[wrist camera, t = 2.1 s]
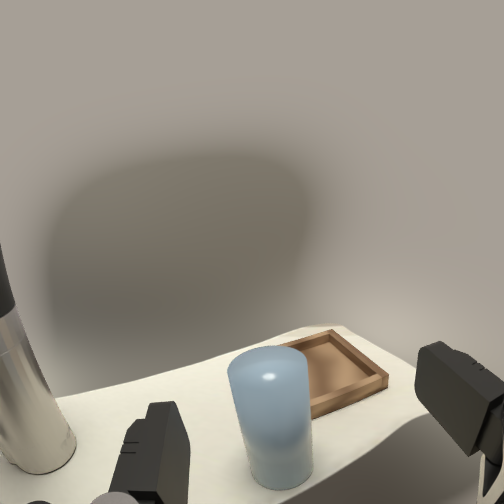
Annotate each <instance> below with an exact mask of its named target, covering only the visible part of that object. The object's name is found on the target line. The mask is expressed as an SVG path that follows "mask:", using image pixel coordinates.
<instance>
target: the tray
mask: <svg viewBox="0 0 504 504" xmlns="http://www.w3.org/2000/svg"><path fill="white" fill-rule="evenodd" d="M277 346H286V347H290V348H294V349H296V350H298V351H300V352H301V353H303V354H304V356H305V357H306V359H307V365H308V379H309V393H310V410H311V420H312V419H314V418H317V417H320V416H322V415H325V414H328V413H330V412H333V411H335V410H338V409H340V408H343V407H345V406H348V405H350V404H353V403H355V402H357V401H360V400H362V399H364V398H366V397H369V396H371V395H373V394H375V393H377V392H380V391H382V390H384V389H386V388H388V379H389V374H388V373H387V372H385V371H384V370H383V369H382V368H380V367H379V366H378V365H377V364H375V363H374V362H373V361H371V360H370V359H369V358H368V357H366V356H365V355H364V354H363V353H361V352H360V351H359V350H358V349H356V348H355V347H354V346H353V345H351V344H350V343H349V342H348V341H346V340H345V339H344V338H343V337H341V336H340V335H339V334H338V333H336V332H335V331H334V330H333V329H331V330H327V331H324V332H321V333H318V334H315V335H311V336H308V337H305V338H301V339H298V340H295V341H291V342H288V343H284V344H281V345H277Z"/></svg>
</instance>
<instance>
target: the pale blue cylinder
mask: <svg viewBox="0 0 504 504" xmlns="http://www.w3.org/2000/svg"><path fill="white" fill-rule="evenodd" d="M227 373H228V378H229V382H230V386H231V391H232V395H233V399H234V404H235V408H236V412H237V416H238V420H239V424H240V428H241V433H242V437H243V440H244V444H245V448H246V452H247V456H248V460H249V464H250V468H251V471H252V475H253V477H254V479H255V480H256V482H258V483H259V484H260V485H262V486H263V487H266V488H268V489H273V490H286V489H291V488H294V487H296V486H298V485H300V484H302V483H303V482H305V481H306V480H307V479H308V478H309V476H310V475H311V473H312V470H313V449H312V428H311V410H310V393H309V379H308V365H307V359H306V357H305V356H304V354H303V353H301V352H300V351H298V350H296V349H294V348H290V347H286V346H264V347H259V348H255V349H252V350H249V351H246V352H244V353H242V354H240V355H239V356H237V357H236V358H235V359H234V360H233V361H232V362H231V363H230V364H229V367H228V370H227Z"/></svg>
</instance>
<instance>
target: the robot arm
mask: <svg viewBox="0 0 504 504" xmlns="http://www.w3.org/2000/svg"><path fill="white" fill-rule="evenodd" d="M415 393H416V396H417V398H418V399H419V401H420V402H421V403H422V404H423V405H424V406H425V408H426V409H427V410H428V411H429V412H430V413H431V414H432V415H433V417H434V418H435V419H436V420H437V421H438V422H439V424H440V425H441V426H442V427H443V428H444V429H445V430H446V432H447V433H448V434H449V435H450V436H451V437H452V439H453V440H454V441H455V442H456V443H457V444H458V446H459V447H460V448H461V449H462V450H463V451H464V453H465V454H466V455H467V456H468V457H469V456H471V455H473V454H474V453H476V452H478V451H479V450H481V451H482V452H483V455H482V457H481V463H480V478H479V487H478V496H477V503H476V504H504V382H503V381H502V380H501V379H500V378H498V377H497V376H496V375H494V374H493V373H492V372H490V371H489V370H488V369H485V367H484V366H483V365H481V364H480V363H477V361H476V360H474V359H473V358H472V357H471V356H469V355H468V354H466V353H463V352H460V351H457V350H453V349H451V348H450V347H449V346H447V345H446V344H445V343H443V342H441V341H438V342H436V343H433V344H430V345H427V346H424V347H422V348H420V350H419V353H418V361H417V369H416V377H415ZM123 443H124V445H122V448H121V451H120V453H121V455H119V458H118V461H117V464H116V468H115V471H114V474H113V478H112V481H111V485H110V488H109V491H108V493H105V494H102V495H100V496H99V497H97V498H96V499H95V500H94V501H92V503H91V504H187V503H188V484H189V468H190V442H189V438H188V435H187V432H186V429H185V427H184V424H183V421H182V419H181V416H180V413H179V411H178V408H177V405H176V403H175V402H174V401H168V402H156V403H150V404H149V406H148V410H147V414H146V417H145V419H136V420H135V422H134V423H133V424H132V425H131V426H130V427H129V428H128V430H127V432H126V435H125V438H124V441H123ZM75 447H76V439H75V436H74V434H73V432H72V431H71V429H70V427H69V425H68V423H67V422H66V420H65V418H64V416H63V414H62V413H61V410H60V409H59V407H58V405H57V403H56V401H55V399H54V397H53V395H52V393H51V391H50V389H49V387H48V385H47V382H46V380H45V378H44V376H43V374H42V372H41V369H40V367H39V365H38V363H37V360H36V358H35V356H34V353H33V350H32V348H31V345H30V343H29V340H28V338H27V336H26V333H25V330H24V327H23V324H22V322H21V319H20V316H19V313H18V310H17V307H16V304H15V301H14V297H13V294H12V291H11V287H10V284H9V280H8V276H7V272H6V268H5V264H4V259H3V255H2V250H1V245H0V450H1V451H2V453H3V454H4V455H5V457H6V458H7V459H8V461H9V462H10V463H11V464H16V465H18V466H19V467H20V468H21V469H22V470H24V471H26V472H28V473H32V474H43V473H48V472H51V471H54V470H56V469H58V468H59V467H61V466H62V465H63V464H65V463H66V462H67V461H68V460H69V459H70V457H71V456H72V454H73V453H74V450H75ZM28 504H50V503H48V502H45V501H33V502H30V503H28Z"/></svg>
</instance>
